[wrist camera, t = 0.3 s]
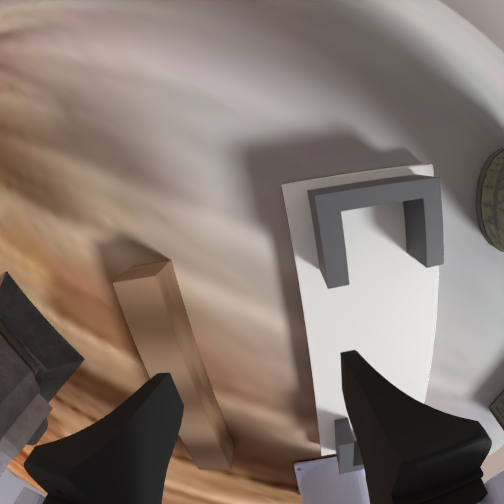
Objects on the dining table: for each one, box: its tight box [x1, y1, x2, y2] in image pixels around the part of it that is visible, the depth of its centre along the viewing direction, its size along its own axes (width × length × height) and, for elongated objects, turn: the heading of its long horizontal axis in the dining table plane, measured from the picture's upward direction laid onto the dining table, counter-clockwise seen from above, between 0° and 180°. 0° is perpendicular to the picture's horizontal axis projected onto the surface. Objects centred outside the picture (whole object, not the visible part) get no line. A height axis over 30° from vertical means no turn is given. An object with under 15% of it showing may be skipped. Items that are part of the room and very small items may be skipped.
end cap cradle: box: [281, 164, 444, 474], centre depth 20 cm, size 25×10×4 cm, turn 12°
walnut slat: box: [113, 260, 234, 470], centre depth 22 cm, size 20×3×4 cm, turn 11°
